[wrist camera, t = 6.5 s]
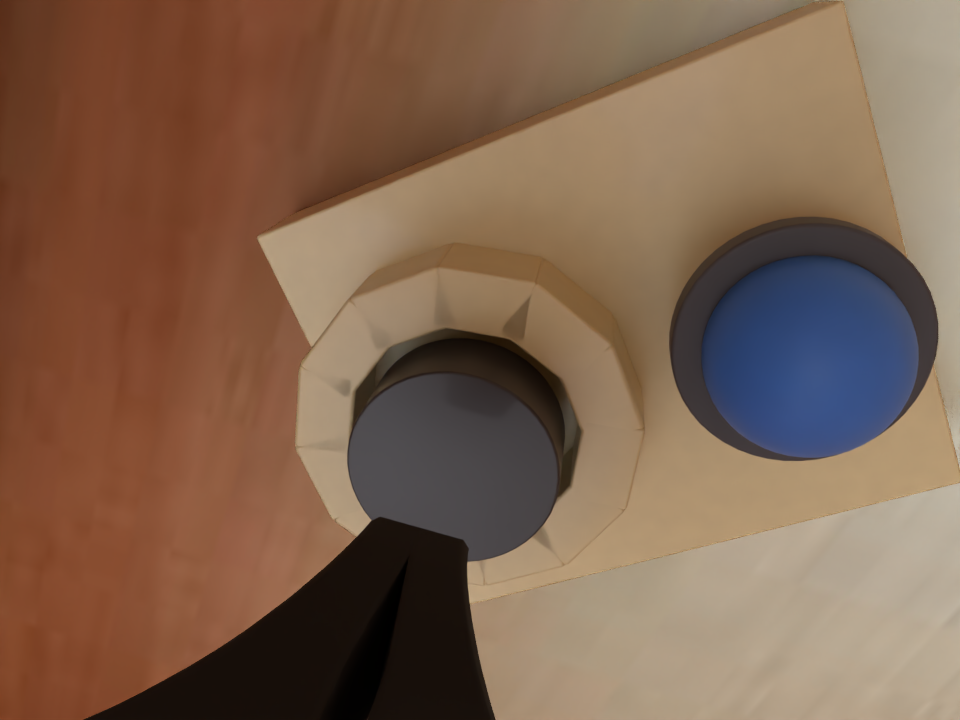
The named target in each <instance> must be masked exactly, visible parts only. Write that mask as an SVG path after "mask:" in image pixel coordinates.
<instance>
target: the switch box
mask: <svg viewBox="0 0 960 720" xmlns="http://www.w3.org/2000/svg"><path fill="white" fill-rule="evenodd" d="M814 216H815V217H825V218H834V219H838V220H842V221H847V222H850V223H853V224H856V225H858V226H861V227H864V228H866V229H868V230H870V231H872V232H874V233H875V234H877V235H879V236H881V237H882V238H883V239H885V240H886V241H887V242H889V243H890V244H891V245H893V246H894V247H895V248H897V249H898V250H899V251H900V252H901V253H902V254H903V255H904V256H905V257H906V258H907V255H906V251H905V247H904V243H903V239H902V235H901V231H900V227H899V223H898V219H897V214H896V210H895V206H894V202H893V198H892V194H891V190H890V186H889V182H888V178H887V174H886V170H885V166H884V162H883V158H882V154H881V150H880V146H879V142H878V138H877V134H876V130H875V126H874V122H873V118H872V114H871V110H870V106H869V102H868V98H867V94H866V90H865V86H864V82H863V78H862V74H861V69H860V65H859V61H858V57H857V53H856V49H855V45H854V41H853V37H852V33H851V29H850V25H849V21H848V17H847V13H846V9H845V5H844V3H843V1H829V2H813V3H810V4H808V5H805V6H803V7H800V8H798V9H795V10H793V11H790V12H788V13H785V14H783V15H781V16H778V17H776V18H773V19H771V20H768V21H766V22H763V23H761V24H758V25H756V26H753V27H751V28H749V29H746V30H744V31H741V32H739V33H736V34H734V35H731V36H729V37H726V38H724V39H722V40H719V41H717V42H714V43H712V44H709V45H707V46H704V47H702V48H699V49H697V50H694V51H692V52H690V53H687V54H685V55H682V56H680V57H677V58H675V59H672V60H670V61H667V62H665V63H662V64H660V65H658V66H655V67H653V68H650V69H648V70H645V71H643V72H640V73H638V74H635V75H633V76H631V77H628V78H626V79H623V80H621V81H618V82H616V83H613V84H611V85H608V86H606V87H603V88H601V89H599V90H596V91H594V92H591V93H589V94H586V95H584V96H581V97H579V98H576V99H574V100H571V101H569V102H567V103H564V104H562V105H559V106H557V107H554V108H552V109H549V110H547V111H544V112H542V113H540V114H537V115H535V116H532V117H530V118H527V119H525V120H522V121H520V122H517V123H515V124H512V125H510V126H508V127H505V128H503V129H500V130H498V131H495V132H493V133H490V134H488V135H485V136H483V137H481V138H478V139H476V140H473V141H471V142H468V143H466V144H463V145H461V146H458V147H456V148H453V149H451V150H449V151H446V152H444V153H441V154H439V155H436V156H434V157H431V158H429V159H426V160H424V161H421V162H419V163H417V164H414V165H412V166H409V167H407V168H404V169H402V170H399V171H397V172H394V173H392V174H390V175H387V176H385V177H382V178H380V179H377V180H375V181H372V182H370V183H367V184H365V185H362V186H360V187H358V188H355V189H353V190H350V191H348V192H345V193H343V194H340V195H338V196H335V197H333V198H330V199H328V200H326V201H323V202H321V203H318V204H316V205H313V206H311V207H308V208H306V209H303V210H301V211H299V212H296V213H294V214H292V215H290V216H289V217H287V218H285V219H284V220H282V221H281V222H279V223H277V224H276V225H274V226H273V227H271V228H270V229H268V230H266V231H265V232H263V233H262V234H260V235H259V236H258V237H257V239H258V241H259V243H260V245H261V247H262V249H263V251H264V253H265V255H266V257H267V259H268V262H269V264H270V266H271V268H272V270H273V272H274V274H275V276H276V278H277V280H278V282H279V284H280V286H281V288H282V290H283V292H284V294H285V296H286V298H287V300H288V302H289V304H290V306H291V308H292V310H293V312H294V314H295V316H296V318H297V320H298V322H299V324H300V326H301V328H302V330H303V332H304V334H305V336H306V338H307V340H308V342H309V344H310V346H311V349H310V351H309V352H308V353H307V355H306V356H305V357H304V359H303V360H302V361H301V364H300V367H299V375H298V394H297V413H296V432H295V445H296V447H295V449H296V451H297V453H298V455H299V457H300V459H301V461H302V463H303V465H304V467H305V468H306V470H307V472H308V474H309V476H310V478H311V480H312V482H313V484H314V486H315V488H316V489H317V491H318V493H319V495H320V497H321V499H322V501H323V503H324V505H325V507H326V509H327V510H328V512H329V514H330V516H331V518H332V519H335V522H336V523H338V524H339V525H340V526H342V527H343V528H345V529H346V530H347V531H349V532H350V533H352V534H353V535H354V536H356V537H357V536H358V535H359V534H360V533H361V532H362V531H363V530H364V529H365V527H366V526H367V525H368V524H369V523H370V521H372V520H371V519H370V518H369V517H368V515H367V514H366V513H365V511H364V510H363V508H362V506H361V505H360V503H359V501H358V500H357V497H356V495H355V493H354V490H353V488H352V485H351V481H350V478H349V472H348V465H347V449H348V443H349V438H350V434H351V431H352V428H353V426H354V424H355V422H356V419H357V417H358V416H359V414H360V412H361V411H362V409H363V408H364V406H365V404H366V403H367V401H368V400H369V398H370V396H371V395H372V393H373V392H374V390H375V388H376V387H377V385H378V384H379V382H380V380H381V379H382V377H383V376H384V375H385V373H386V372H387V370H388V369H389V368H390V367H391V366H392V365H393V364H394V363H395V362H396V361H397V360H399V359H400V358H401V357H402V356H404V355H405V354H406V353H408V352H410V351H412V350H413V349H415V348H417V347H420V346H422V345H424V344H427V343H430V342H434V341H438V340H443V339H451V338H469V339H477V340H482V341H486V342H491V343H494V344H496V345H499V346H502V347H505V348H507V349H508V350H510V351H512V352H514V353H516V354H518V355H519V356H521V357H522V358H524V359H525V360H526V361H528V362H529V363H530V364H531V365H532V366H534V367H535V368H536V369H537V370H538V371H539V372H540V373H541V375H542V376H543V377H544V378H545V379H546V380H547V382H548V383H549V385H550V386H551V388H552V389H553V391H554V393H555V395H556V397H557V399H558V401H559V404H560V407H561V410H562V413H563V419H564V424H565V442H564V451H563V460H562V469H561V479H560V487H559V493H558V496H557V500H556V503H555V506H554V508H553V510H552V512H551V514H550V516H549V517H548V519H547V520H546V522H545V524H544V525H543V526H542V527H541V528H540V529H539V531H538V532H537V533H536V534H535V535H534V536H532V537H531V538H530V539H529V540H528V541H527V542H525V543H524V544H522V545H521V546H519V547H518V548H516V549H514V550H512V551H510V552H508V553H506V554H503V555H500V556H497V557H494V558H491V559H486V560H481V561H471V562H467V578H468V592H469V602H470V604H474V603H478V602H482V601H486V600H490V599H494V598H498V597H502V596H506V595H510V594H514V593H518V592H522V591H526V590H530V589H534V588H538V587H542V586H546V585H550V584H554V583H558V582H562V581H566V580H570V579H574V578H578V577H583V576H587V575H591V574H595V573H599V572H603V571H607V570H611V569H615V568H619V567H623V566H627V565H631V564H635V563H639V562H643V561H647V560H651V559H655V558H659V557H663V556H667V555H671V554H675V553H679V552H683V551H687V550H691V549H695V548H699V547H703V546H707V545H711V544H715V543H719V542H723V541H727V540H731V539H735V538H739V537H743V536H747V535H751V534H755V533H759V532H763V531H767V530H771V529H775V528H779V527H783V526H787V525H791V524H795V523H799V522H804V521H808V520H812V519H816V518H820V517H824V516H828V515H832V514H836V513H840V512H844V511H848V510H852V509H856V508H860V507H864V506H868V505H872V504H876V503H880V502H884V501H888V500H892V499H896V498H900V497H904V496H908V495H912V494H916V493H920V492H924V491H928V490H932V489H936V488H940V487H944V486H948V485H952V484H956V483H960V468H959V464H958V460H957V456H956V452H955V448H954V444H953V440H952V436H951V432H950V428H949V424H948V420H947V416H946V412H945V408H944V404H943V400H942V396H941V392H940V388H939V384H938V380H937V376H936V372H935V368H934V364H933V367H932V370H931V373H930V375H929V377H928V380H927V382H926V384H925V386H924V388H923V390H922V391H921V393H920V394H919V396H918V398H917V399H916V401H915V402H914V403H913V404H912V406H911V407H910V408H909V409H908V411H907V412H906V413H905V414H904V415H903V416H902V417H901V418H900V419H899V420H898V421H897V422H896V423H895V424H894V425H892V426H891V427H890V428H889V429H887V430H886V431H885V432H883V433H882V434H881V435H879V436H877V437H876V438H874V439H872V440H871V441H869V442H867V443H866V444H864V445H862V446H860V447H857V448H855V449H853V450H851V451H848V452H845V453H842V454H838V455H835V456H832V457H827V458H822V459H817V460H807V461H780V460H772V459H766V458H762V457H758V456H754V455H751V454H748V453H745V452H743V451H740V450H737V449H735V448H734V447H732V446H730V445H728V444H726V443H724V442H722V441H721V440H719V439H718V438H717V437H715V436H714V435H712V434H711V433H710V432H709V431H707V430H706V429H705V428H704V427H703V426H702V425H701V424H700V423H699V422H698V421H697V420H696V418H695V417H694V416H693V415H692V414H691V412H690V411H689V409H688V408H687V406H686V405H685V403H684V401H683V400H682V398H681V395H680V393H679V391H678V388H677V386H676V383H675V379H674V375H673V372H672V366H671V359H670V351H669V332H670V326H671V320H672V316H673V312H674V309H675V306H676V303H677V301H678V299H679V296H680V294H681V292H682V290H683V288H684V286H685V285H686V283H687V282H688V280H689V279H690V277H691V276H692V274H693V273H694V272H695V271H696V269H697V268H698V267H699V266H700V265H701V263H702V262H703V261H704V260H705V259H706V258H707V257H709V256H710V255H711V254H712V253H713V252H714V251H715V250H716V249H718V248H719V247H720V246H722V245H723V244H725V243H726V242H727V241H729V240H730V239H732V238H734V237H736V236H737V235H739V234H741V233H743V232H745V231H747V230H749V229H752V228H754V227H757V226H759V225H762V224H765V223H769V222H772V221H776V220H780V219H787V218H793V217H814Z"/></svg>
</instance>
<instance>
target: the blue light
mask: <svg viewBox="0 0 960 720" xmlns="http://www.w3.org/2000/svg"><path fill="white" fill-rule="evenodd" d="M937 345H938V319H937V313H936V307H935V304H934V301H933V298H932V295H931V292H930V290H929V288H928V286H927V284H926V282H925V280H924V278H923V277H922V276H921V274H920V273H919V271H918V270H917V269H916V267H915V266H914V265H913V264H912V263H911V262H910V261H909V260H908V259H907V258H906V257H905V256H904V255H903V254H902V253H901V252H900V251H899V250H898V249H897V248H895V247H894V246H893V245H891V244H890V243H889V242H887V241H886V240H885V239H883V238H882V237H881V236H879V235H877V234H875V233H874V232H872V231H870V230H868V229H866V228H864V227H861V226H858V225H856V224H853V223H850V222H847V221H842V220H838V219H834V218H825V217H815V216H814V217H793V218H787V219H780V220H776V221H772V222H769V223H765V224H762V225H759V226H757V227H754V228H752V229H749V230H747V231H745V232H743V233H741V234H739V235H737V236H736V237H734V238H732V239H730V240H729V241H727V242H726V243H725V244H723V245H722V246H720V247H719V248H718V249H716V250H715V251H714V252H713V253H712V254H711V255H710V256H709V257H707V258H706V259H705V260H704V261H703V262H702V263H701V265H700V266H699V267H698V268H697V269H696V271H695V272H694V273H693V274H692V276H691V277H690V279H689V280H688V282H687V283H686V285H685V286H684V288H683V290H682V292H681V294H680V296H679V299H678V301H677V303H676V306H675V309H674V312H673V316H672V320H671V326H670V332H669V351H670V359H671V366H672V372H673V375H674V379H675V383H676V386H677V388H678V391H679V393H680V395H681V398H682V400H683V401H684V403H685V405H686V406H687V408H688V409H689V411H690V412H691V414H692V415H693V416H694V417H695V418H696V420H697V421H698V422H699V423H700V424H701V425H702V426H703V427H704V428H705V429H706V430H707V431H709V432H710V433H711V434H712V435H714V436H715V437H717V438H718V439H719V440H721V441H722V442H724V443H726V444H728V445H730V446H732V447H734V448H735V449H737V450H740V451H743V452H745V453H748V454H751V455H754V456H758V457H762V458H766V459H772V460H780V461H807V460H817V459H822V458H827V457H832V456H835V455H838V454H842V453H845V452H848V451H851V450H853V449H855V448H857V447H860V446H862V445H864V444H866V443H867V442H869V441H871V440H872V439H874V438H876V437H877V436H879V435H881V434H882V433H883V432H885V431H886V430H887V429H889V428H890V427H891V426H892V425H894V424H895V423H896V422H897V421H898V420H899V419H900V418H901V417H902V416H903V415H904V414H905V413H906V412H907V411H908V409H909V408H910V407H911V406H912V404H913V403H914V402H915V401H916V399H917V398H918V396H919V394H920V393H921V391H922V390H923V388H924V386H925V384H926V382H927V380H928V377H929V375H930V373H931V370H932V367H933V364H934V360H935V357H936V351H937Z"/></svg>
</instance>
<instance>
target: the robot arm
mask: <svg viewBox="0 0 960 720" xmlns="http://www.w3.org/2000/svg"><path fill="white" fill-rule="evenodd" d="M468 551H469V548H468V546H467V545H466V543H465V541H464V540H463V539H459V538H456V537H452V536H448V535H445V534H441V533H438V532H434V531H430V530H427V529H423V528H420V527H416V526H412V525H409V524H405V523H402V522H398V521H394V520H391V519H387V518H384V517H378V518H376V519H374V520H372V521H370V523H369V524H368V525H367V526H366V527H365V529H364V530H363V531H362V532H361V533H360V534H359V535H358V536H357V537H356V538H355V539H354V540H353V541H352V542H351V543H350V544H349V545H348V546H347V547H346V548H345V549H344V550H343V551H342V552H341V553H340V554H339V555H338V556H337V557H336V558H335V559H334V560H333V561H332V562H330V563H329V564H328V565H327V566H326V567H325V568H324V569H323V570H321V571H320V572H319V573H318V574H317V575H316V576H314V577H313V578H312V579H311V580H310V581H309V582H307V583H306V584H305V585H304V586H303V587H302V588H301V589H299V590H298V591H297V592H296V593H295V594H293V595H292V596H291V597H290V598H288V599H287V600H286V601H284V602H283V603H282V604H280V605H279V606H278V607H276V608H275V609H274V610H272V611H271V612H270V613H268V614H267V615H266V616H264V617H263V618H262V619H260V620H259V621H258V622H256V623H255V624H254V625H252V626H251V627H250V628H248V629H247V630H245V631H244V632H242V633H241V634H239V635H238V636H237V637H235V638H234V639H232V640H231V641H229V642H228V643H226V644H225V645H223V646H221V647H220V648H218V649H217V650H215V651H214V652H212V653H210V654H209V655H207V656H205V657H204V658H202V659H201V660H199V661H197V662H196V663H194V664H192V665H191V666H189V667H187V668H186V669H184V670H182V671H180V672H178V673H176V674H175V675H173V676H171V677H169V678H167V679H166V680H164V681H162V682H160V683H158V684H156V685H155V686H153V687H151V688H149V689H147V690H145V691H144V692H142V693H140V694H138V695H136V696H134V697H132V698H130V699H128V700H126V701H124V702H122V703H120V704H118V705H115V706H113V707H111V708H109V709H107V710H105V711H102V712H100V713H98V714H95V715H93V716H91V717H89V718H86V719H84V720H495V717H494V713H493V710H492V706H491V703H490V700H489V696H488V692H487V688H486V684H485V681H484V677H483V673H482V669H481V664H480V660H479V656H478V650H477V645H476V640H475V634H474V629H473V623H472V617H471V610H470V602H469V592H468V578H467V561H468Z"/></svg>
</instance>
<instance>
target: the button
mask: <svg viewBox="0 0 960 720" xmlns="http://www.w3.org/2000/svg"><path fill="white" fill-rule="evenodd" d="M564 442H565V424H564V419H563V413H562V410H561V407H560V404H559V401H558V399H557V397H556V395H555V393H554V391H553V389H552V388H551V386H550V385H549V383H548V382H547V380H546V379H545V378H544V377H543V376H542V375H541V373H540V372H539V371H538V370H537V369H536V368H535V367H534V366H532V365H531V364H530V363H529V362H528V361H526V360H525V359H524V358H522V357H521V356H519V355H518V354H516V353H514V352H512V351H510V350H508V349H507V348H505V347H502V346H499V345H496V344H494V343H491V342H486V341H482V340H477V339H469V338H451V339H443V340H438V341H434V342H430V343H427V344H424V345H422V346H420V347H417V348H415V349H413V350H412V351H410V352H408V353H406V354H405V355H404V356H402V357H401V358H400V359H399V360H397V361H396V362H395V363H394V364H393V365H392V366H391V367H390V368H389V369H388V370H387V372H386V373H385V375H384V376H383V377H382V379H381V380H380V382H379V384H378V385H377V387H376V388H375V390H374V392H373V393H372V395H371V396H370V398H369V400H368V401H367V403H366V404H365V406H364V408H363V409H362V411H361V412H360V414H359V416H358V417H357V419H356V422H355V424H354V426H353V428H352V431H351V434H350V438H349V443H348V449H347V465H348V472H349V478H350V481H351V485H352V488H353V490H354V493H355V495H356V497H357V500H358V501H359V503H360V505H361V506H362V508H363V510H364V511H365V513H366V514H367V515H368V517H369V518H370V519H371V520H374V519H376V518H378V517H384V518H387V519H391V520H394V521H398V522H402V523H405V524H409V525H412V526H416V527H420V528H423V529H427V530H430V531H434V532H438V533H441V534H445V535H448V536H452V537H456V538H459V539H463V540H464V541H465V543H466V545H467V546H468V548H469V551H468V561H467V562H471V561H481V560H486V559H491V558H494V557H497V556H500V555H503V554H506V553H508V552H510V551H512V550H514V549H516V548H518V547H519V546H521V545H522V544H524V543H525V542H527V541H528V540H529V539H530V538H531V537H532V536H534V535H535V534H536V533H537V532H538V531H539V529H540V528H541V527H542V526H543V525H544V524H545V522H546V520H547V519H548V517H549V516H550V514H551V512H552V510H553V508H554V506H555V503H556V500H557V496H558V493H559V487H560V479H561V469H562V460H563V451H564Z"/></svg>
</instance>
